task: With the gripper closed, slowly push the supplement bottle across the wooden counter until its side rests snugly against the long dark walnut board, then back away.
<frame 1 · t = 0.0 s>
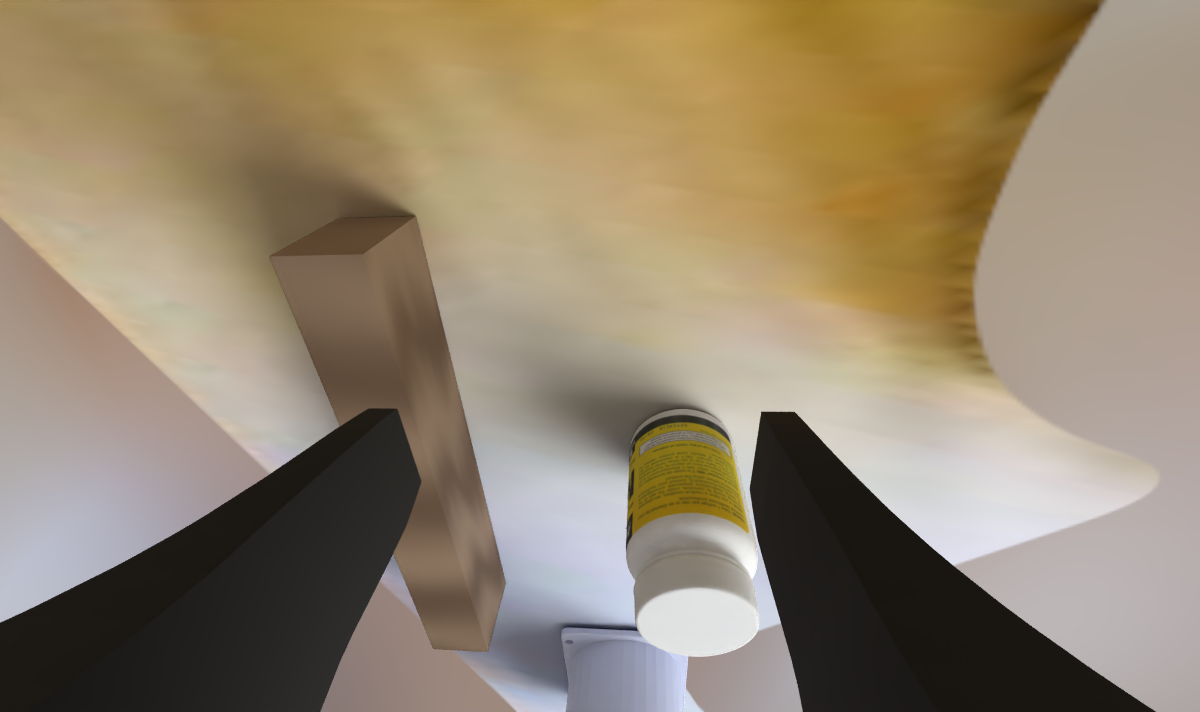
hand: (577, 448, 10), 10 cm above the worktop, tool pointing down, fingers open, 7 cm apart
walnut board: (441, 443, 24), on the worktop
supplement bottle: (680, 443, 23), on the worktop
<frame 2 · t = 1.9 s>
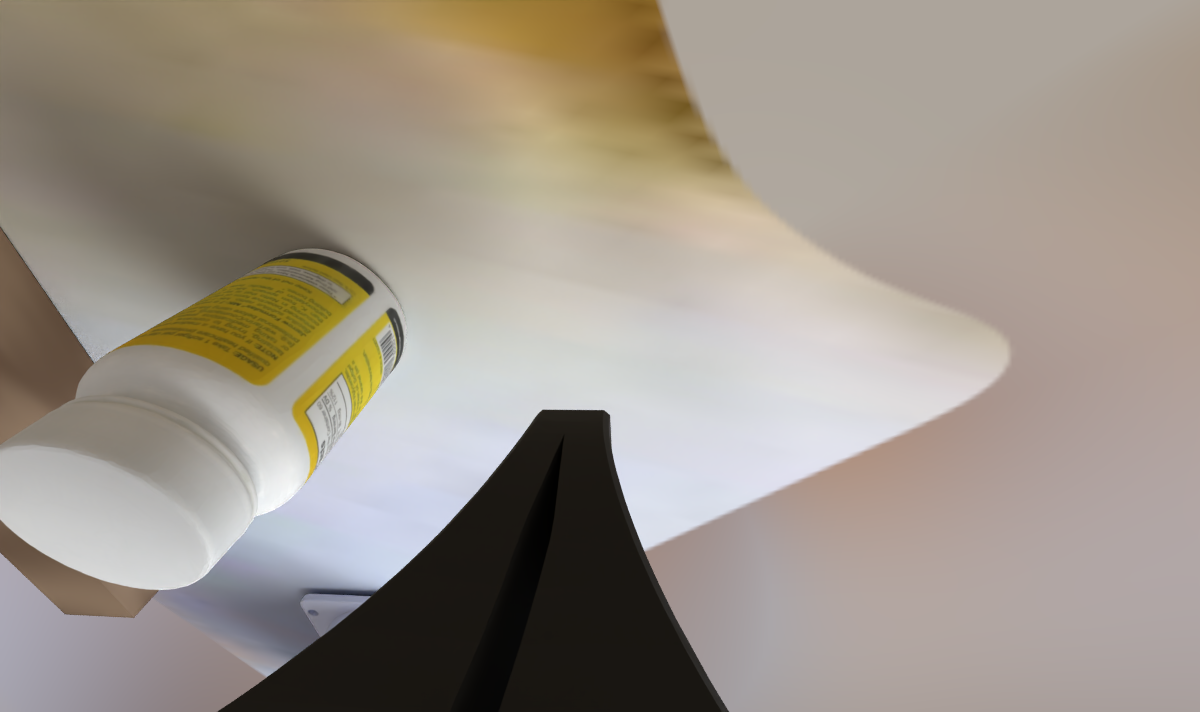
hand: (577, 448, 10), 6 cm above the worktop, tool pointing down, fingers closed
walnut board: (24, 319, 17), on the worktop
supplement bottle: (342, 313, 16), on the worktop
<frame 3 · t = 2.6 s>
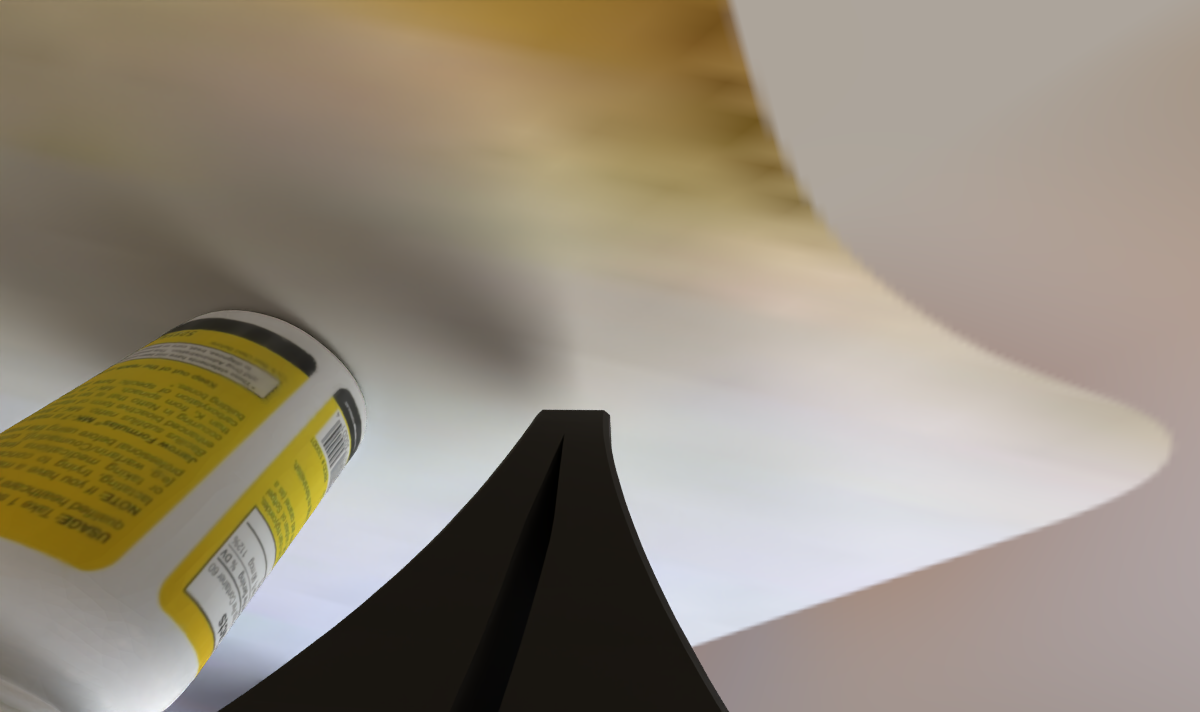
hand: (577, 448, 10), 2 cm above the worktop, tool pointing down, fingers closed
supplement bottle: (283, 386, 12), on the worktop
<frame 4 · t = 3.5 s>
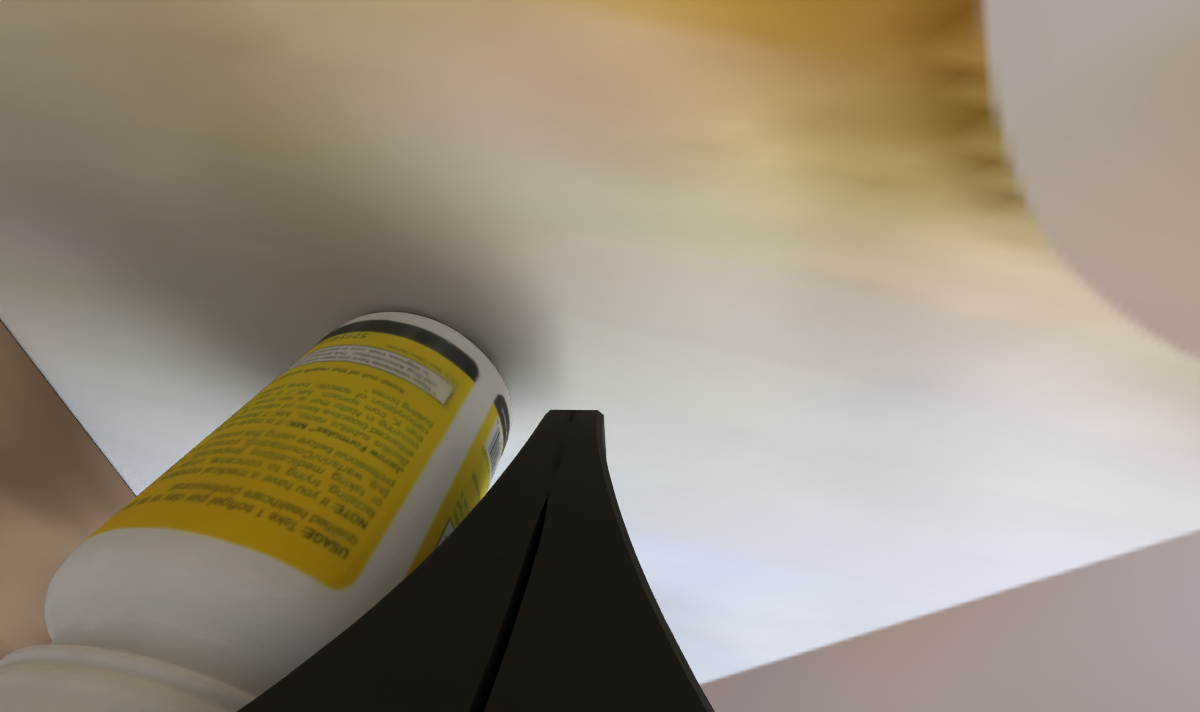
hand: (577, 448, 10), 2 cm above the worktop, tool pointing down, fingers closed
walnut board: (5, 393, 13), on the worktop
supplement bottle: (424, 390, 12), on the worktop, touching gripper
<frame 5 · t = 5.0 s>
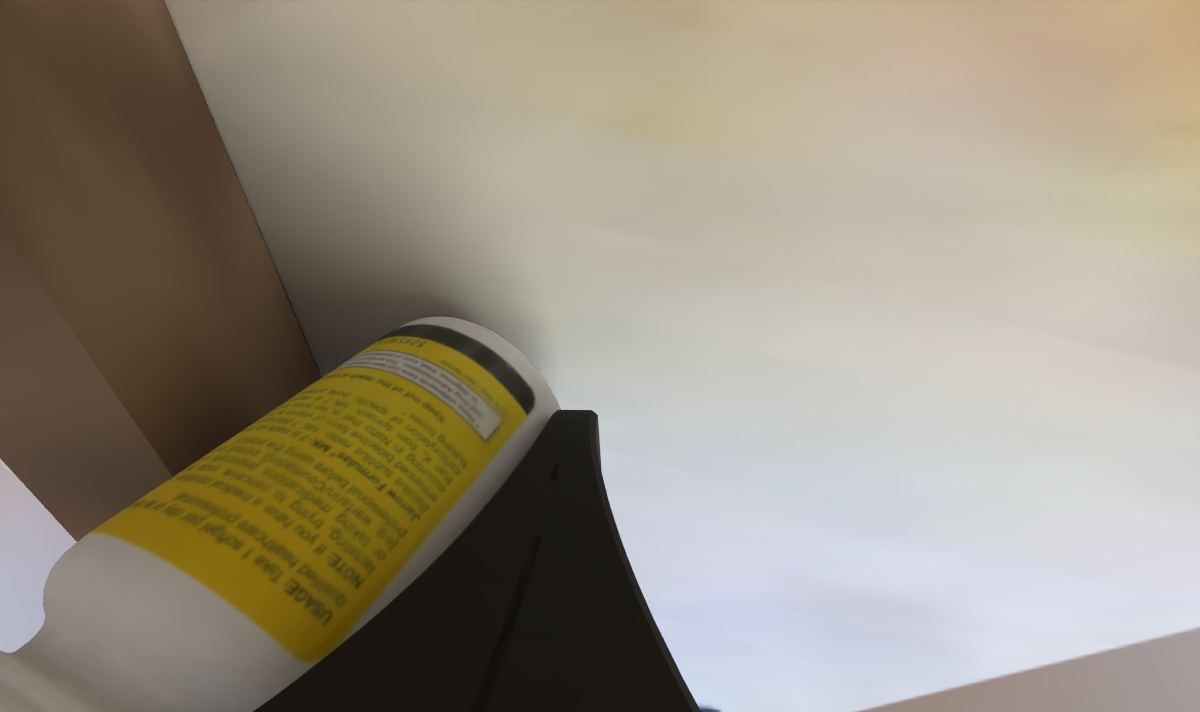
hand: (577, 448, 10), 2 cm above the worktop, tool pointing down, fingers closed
walnut board: (271, 393, 12), on the worktop
supplement bottle: (482, 401, 11), on the worktop, touching gripper
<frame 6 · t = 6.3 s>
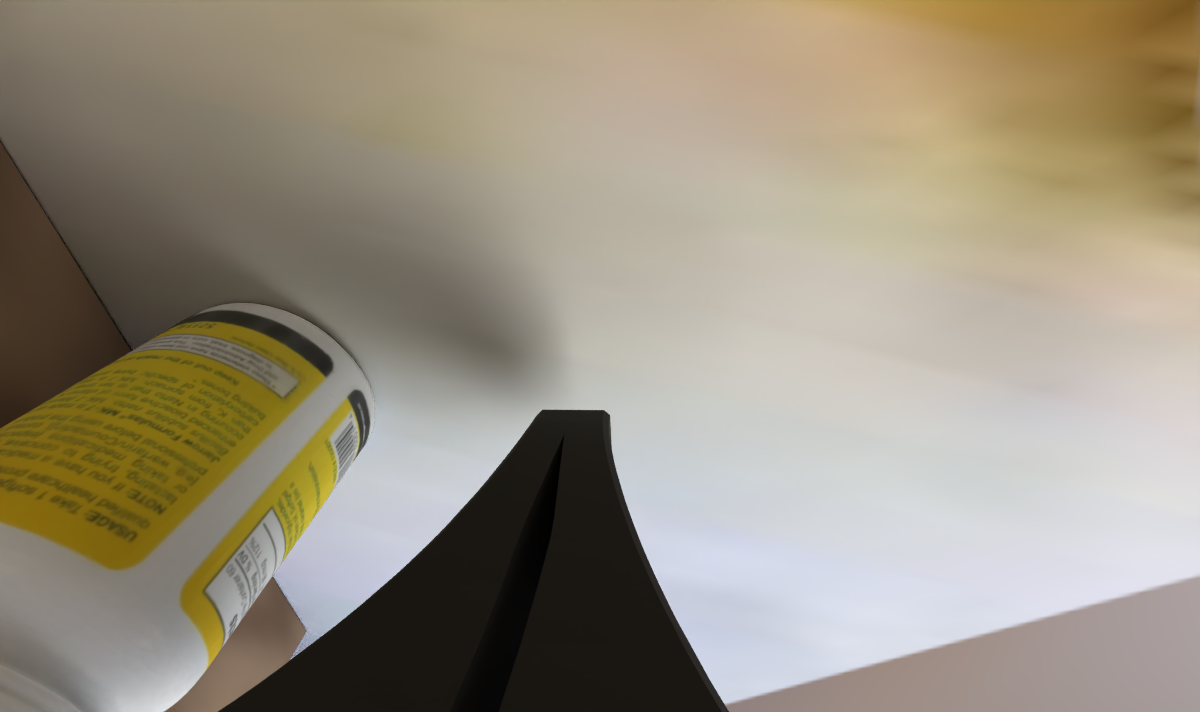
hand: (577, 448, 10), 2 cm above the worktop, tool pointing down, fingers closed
walnut board: (101, 388, 13), on the worktop
supplement bottle: (291, 380, 12), on the worktop
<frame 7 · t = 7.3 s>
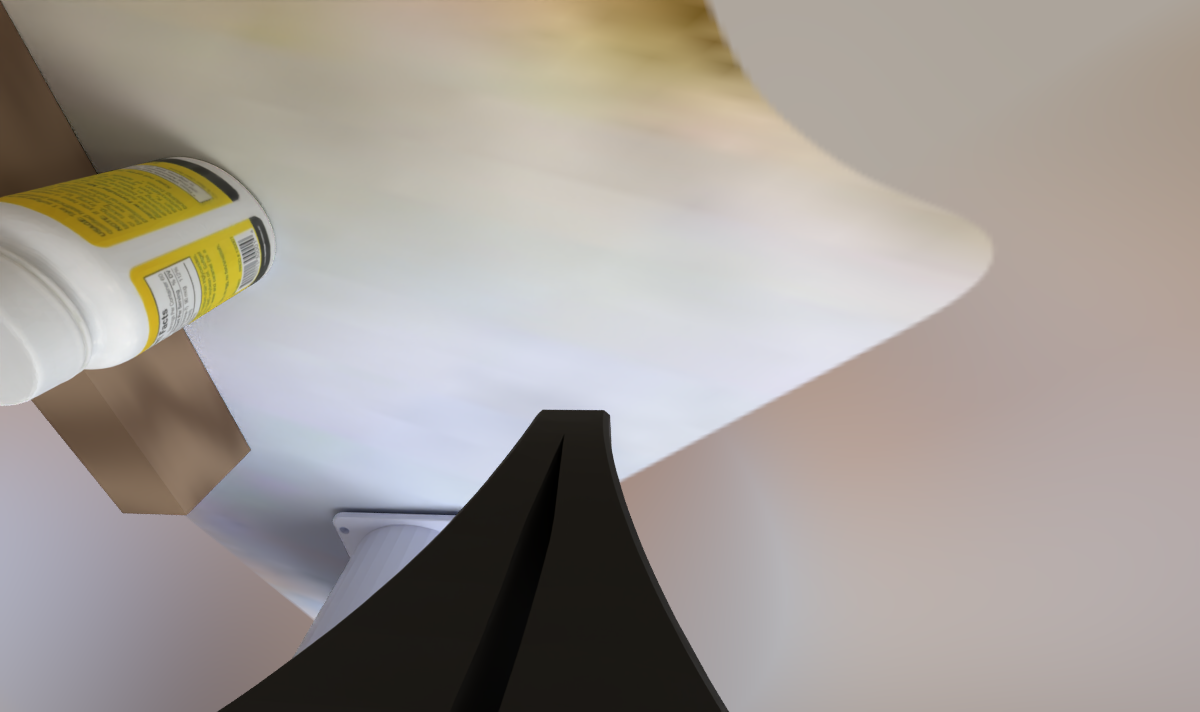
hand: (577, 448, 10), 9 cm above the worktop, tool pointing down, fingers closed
walnut board: (92, 231, 19), on the worktop
supplement bottle: (219, 222, 18), on the worktop
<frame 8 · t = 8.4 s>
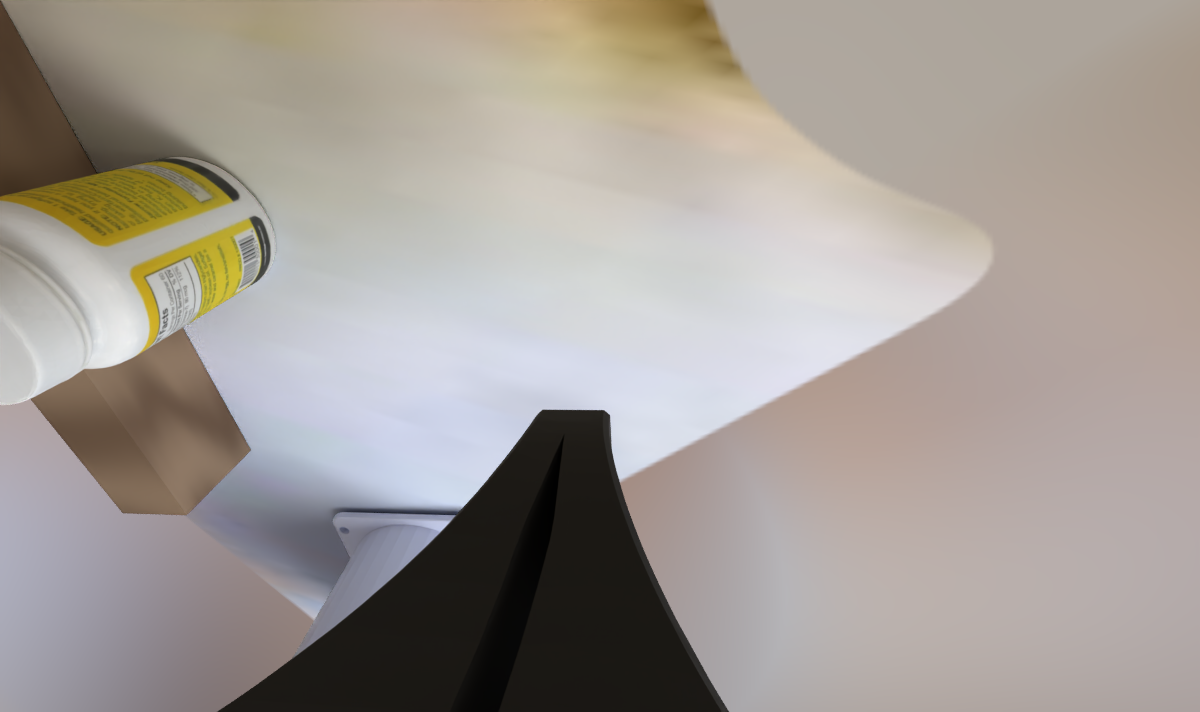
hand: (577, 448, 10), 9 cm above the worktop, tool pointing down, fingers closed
walnut board: (92, 231, 19), on the worktop
supplement bottle: (219, 222, 18), on the worktop
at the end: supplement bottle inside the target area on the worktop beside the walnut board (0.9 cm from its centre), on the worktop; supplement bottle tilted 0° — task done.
